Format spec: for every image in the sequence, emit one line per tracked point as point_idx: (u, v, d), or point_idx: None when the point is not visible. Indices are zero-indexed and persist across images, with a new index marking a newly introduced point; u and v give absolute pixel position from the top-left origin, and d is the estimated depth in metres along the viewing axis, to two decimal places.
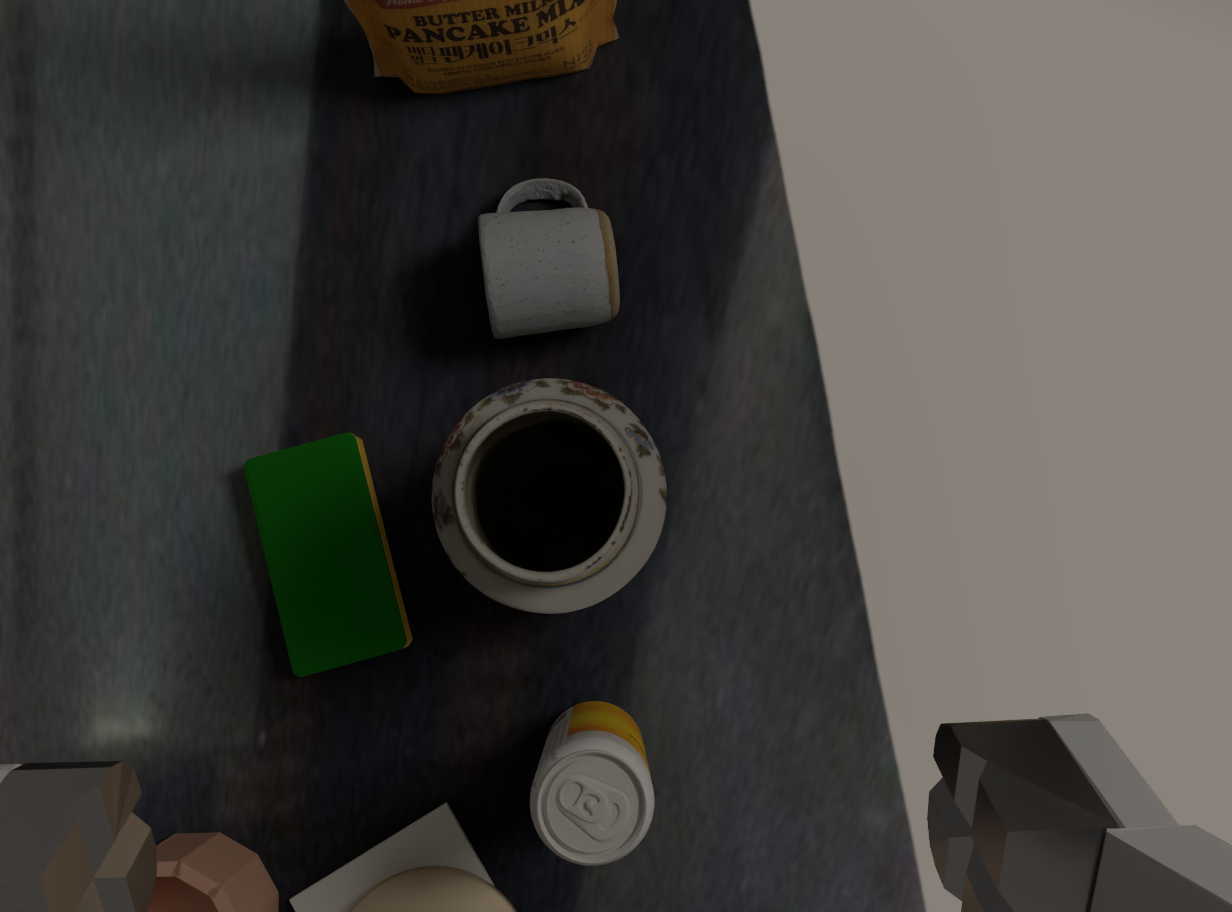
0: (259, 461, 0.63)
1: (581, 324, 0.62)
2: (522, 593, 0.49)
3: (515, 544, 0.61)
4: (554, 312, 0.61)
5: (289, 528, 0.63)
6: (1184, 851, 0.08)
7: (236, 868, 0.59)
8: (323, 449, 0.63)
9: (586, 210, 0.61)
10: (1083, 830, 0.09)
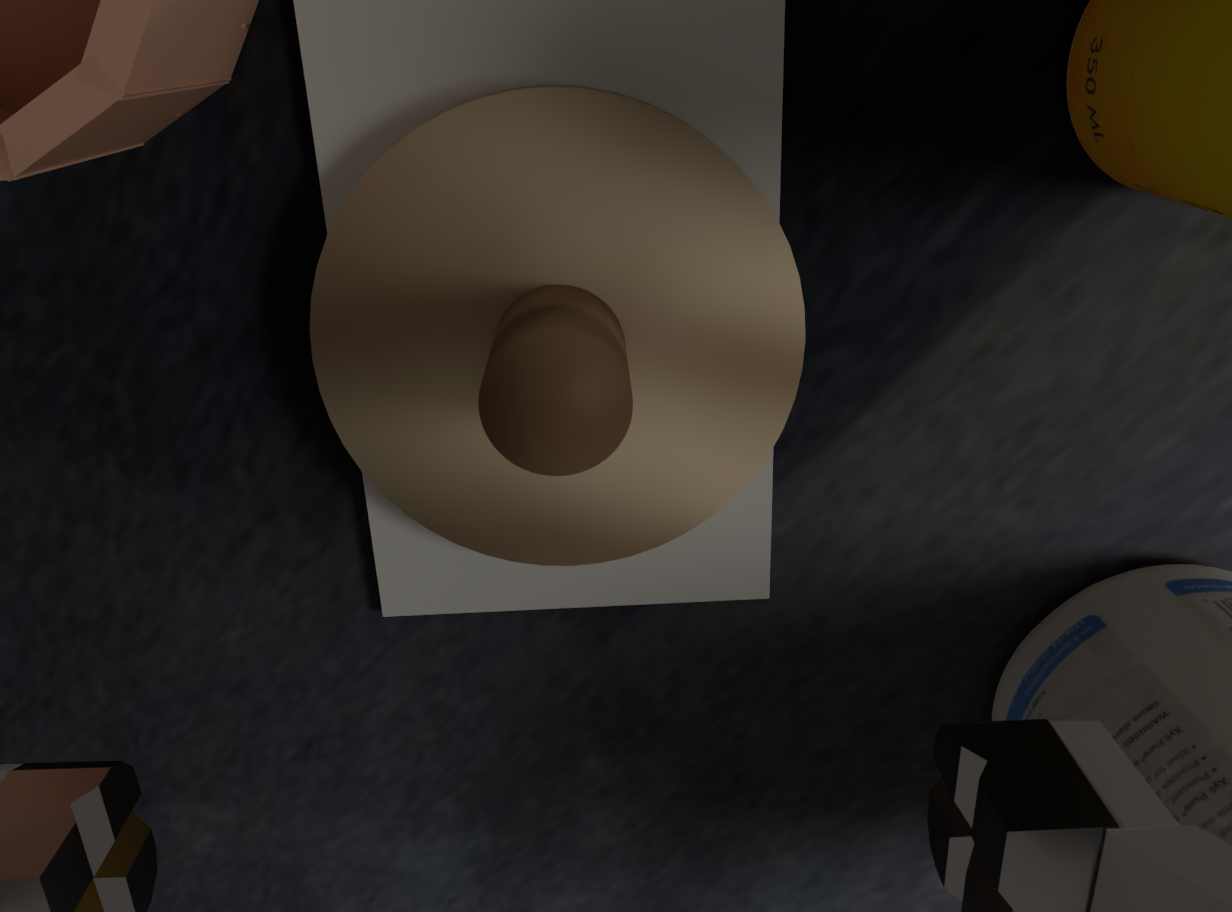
0: None
1: None
2: None
3: None
4: None
5: None
6: (1183, 851, 0.08)
7: None
8: None
9: None
10: (1083, 830, 0.09)
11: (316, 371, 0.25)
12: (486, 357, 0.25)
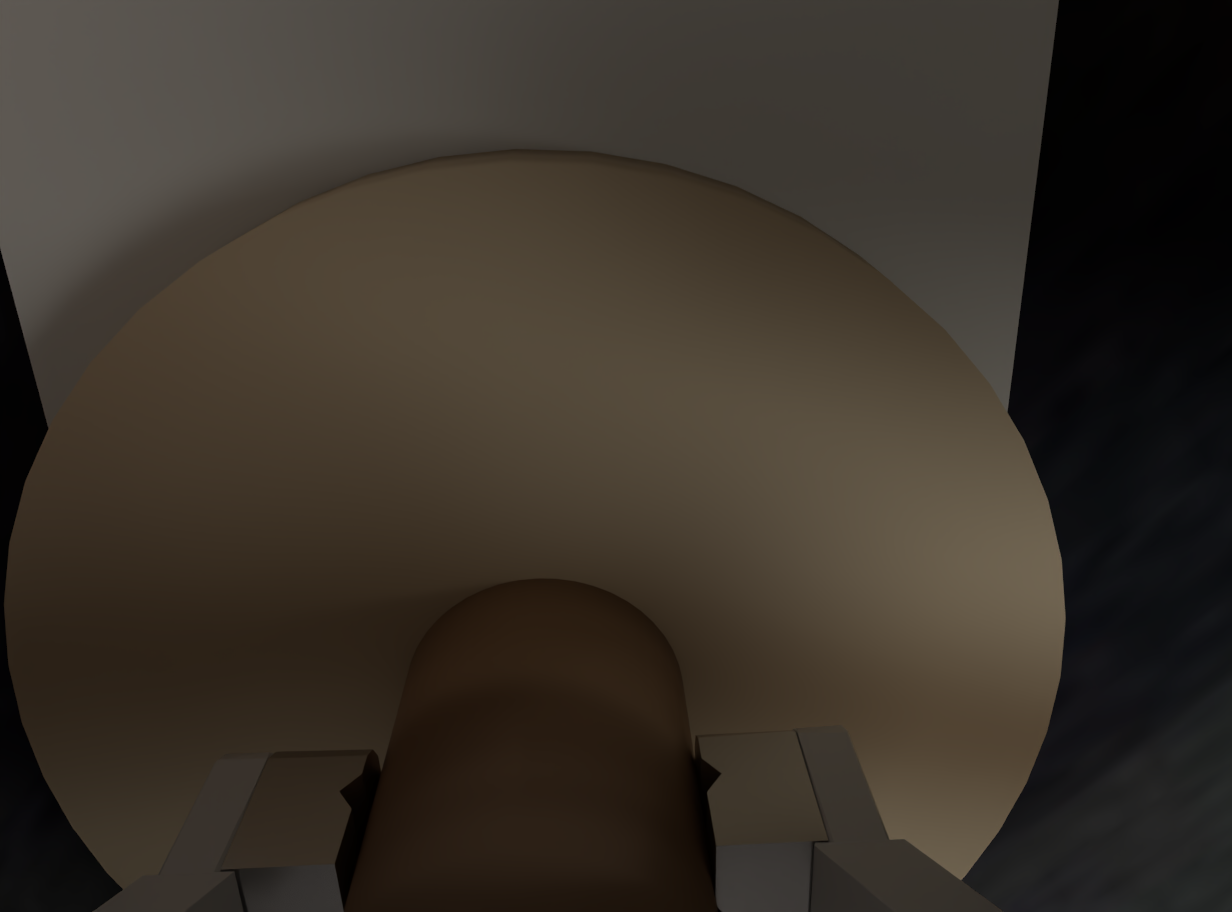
0: None
1: None
2: None
3: None
4: None
5: None
6: (882, 865, 0.08)
7: None
8: None
9: None
10: (794, 844, 0.08)
11: (33, 742, 0.12)
12: (391, 714, 0.12)
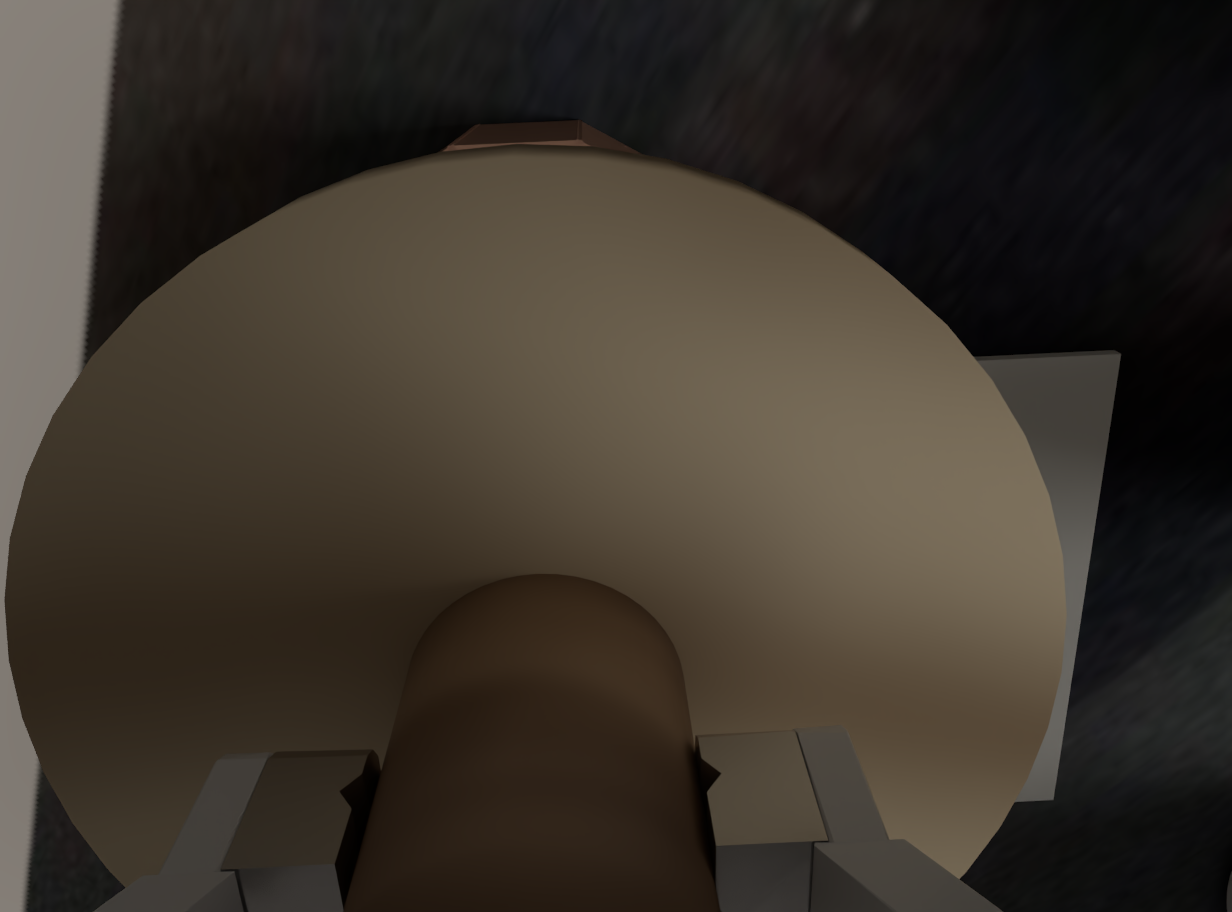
0: None
1: None
2: None
3: None
4: None
5: None
6: (882, 865, 0.08)
7: None
8: None
9: None
10: (794, 844, 0.08)
11: (34, 738, 0.12)
12: (392, 710, 0.12)
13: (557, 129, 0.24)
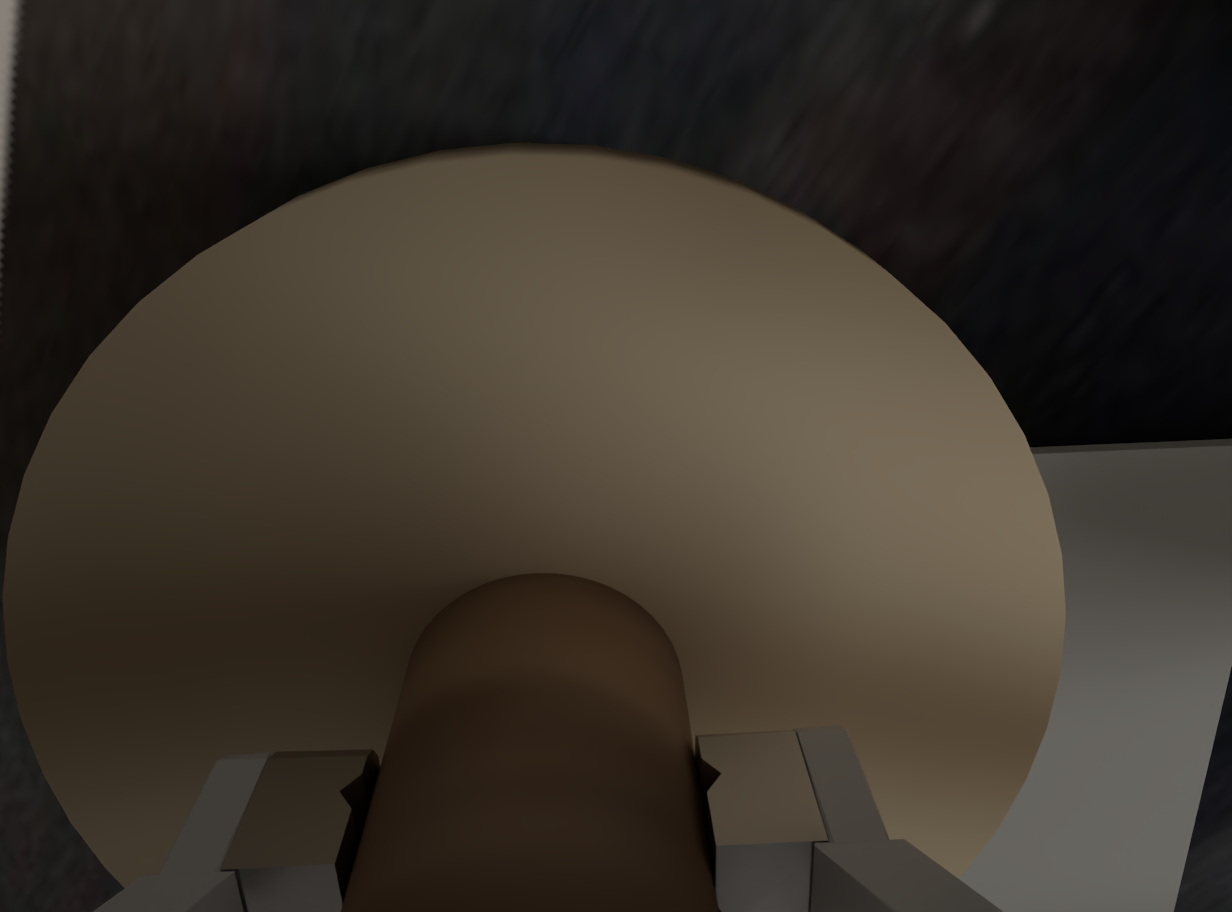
0: None
1: None
2: None
3: None
4: None
5: None
6: (882, 865, 0.08)
7: None
8: None
9: None
10: (794, 844, 0.08)
11: (32, 737, 0.12)
12: (390, 709, 0.12)
13: None
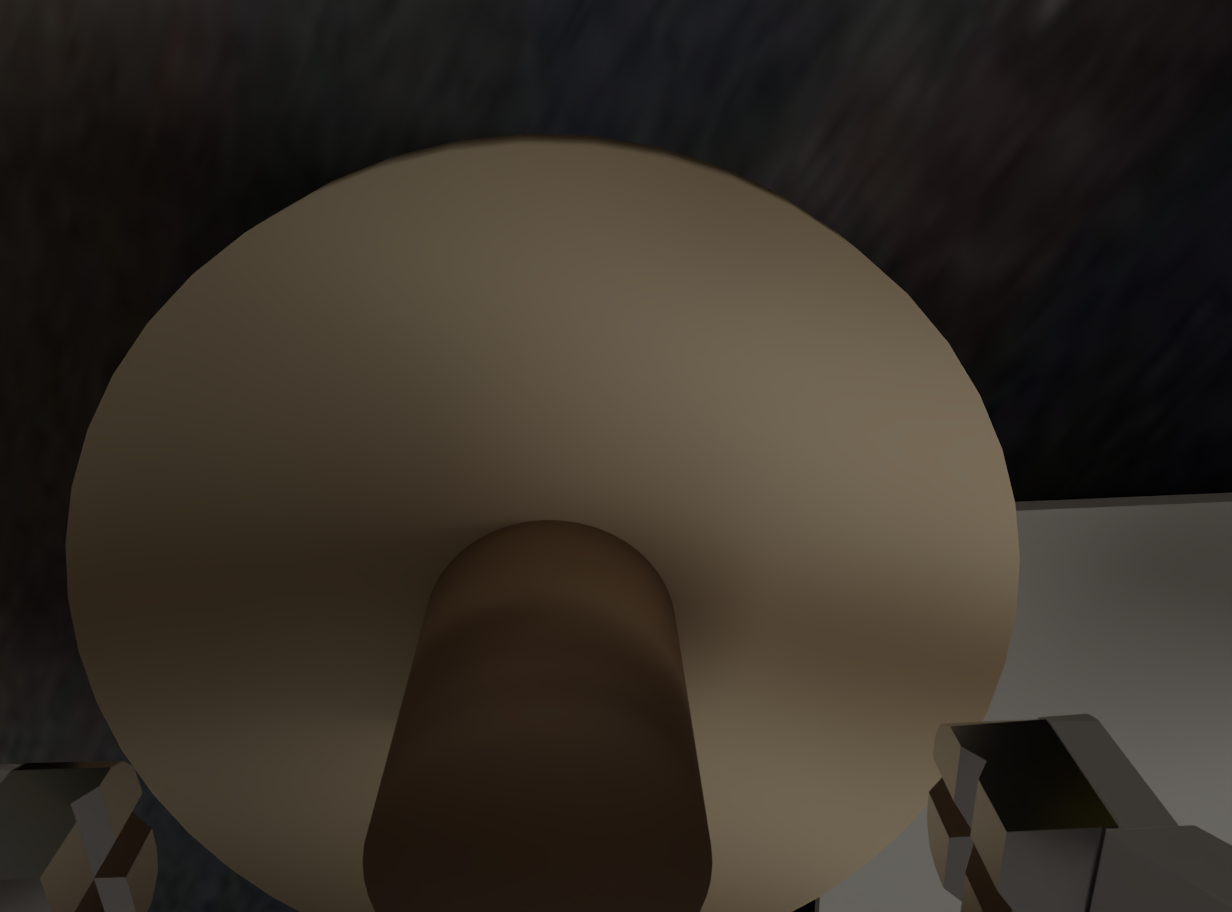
0: None
1: None
2: None
3: None
4: None
5: None
6: (1183, 851, 0.08)
7: None
8: None
9: None
10: (1082, 830, 0.09)
11: (88, 671, 0.13)
12: (411, 646, 0.13)
13: None
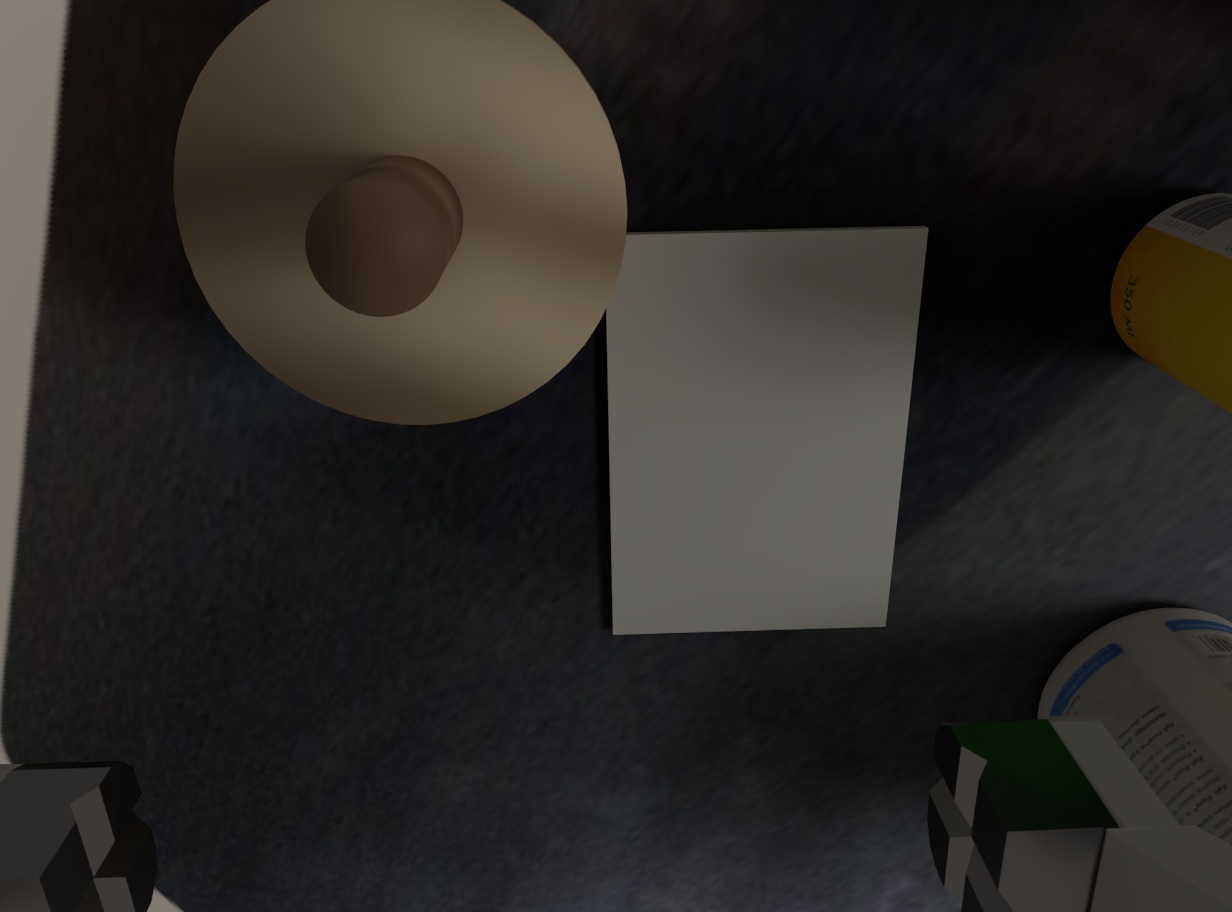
0: None
1: None
2: None
3: None
4: None
5: None
6: (1184, 851, 0.08)
7: None
8: None
9: None
10: (1083, 830, 0.09)
11: (181, 232, 0.27)
12: None
13: None
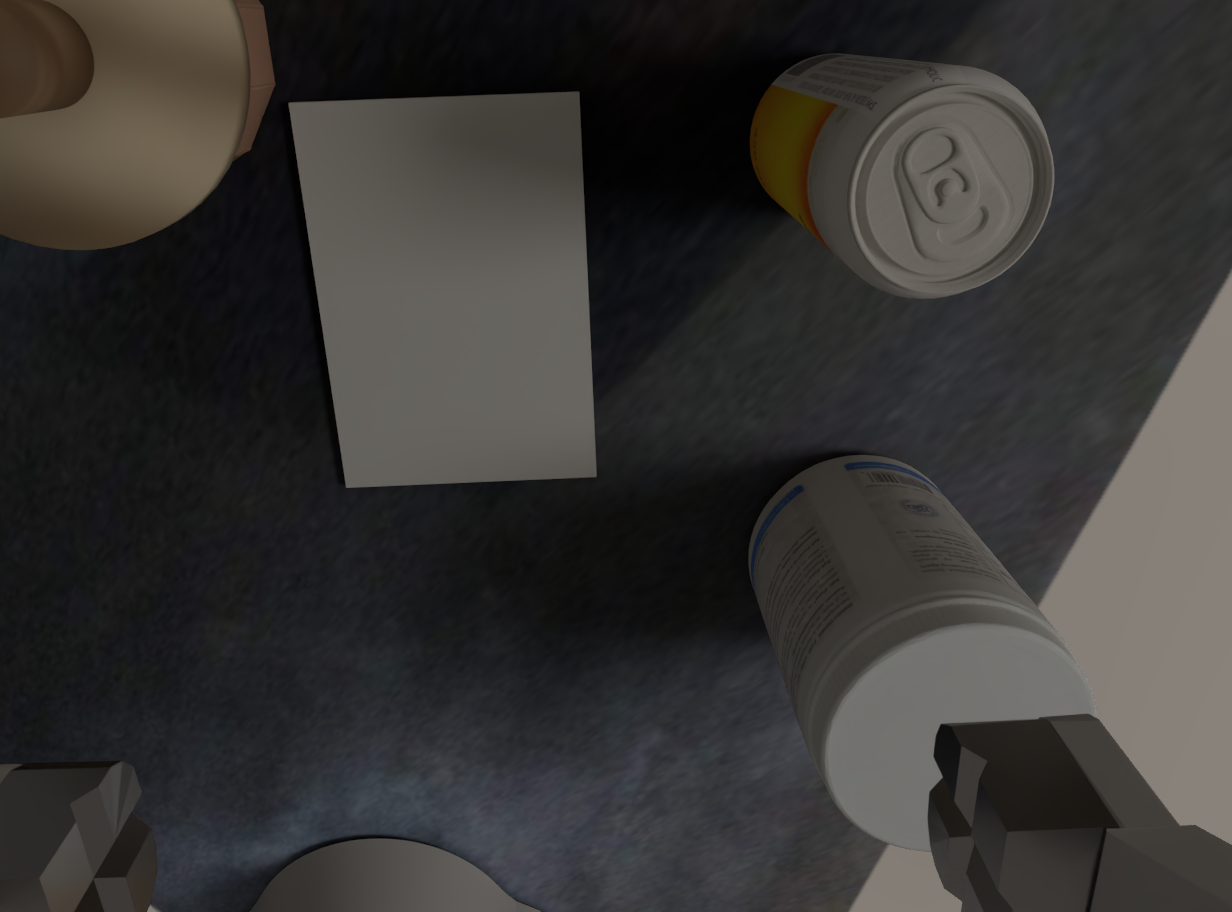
0: None
1: None
2: None
3: None
4: None
5: None
6: (1185, 850, 0.08)
7: None
8: None
9: None
10: (1083, 830, 0.09)
11: None
12: None
13: None
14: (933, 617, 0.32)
